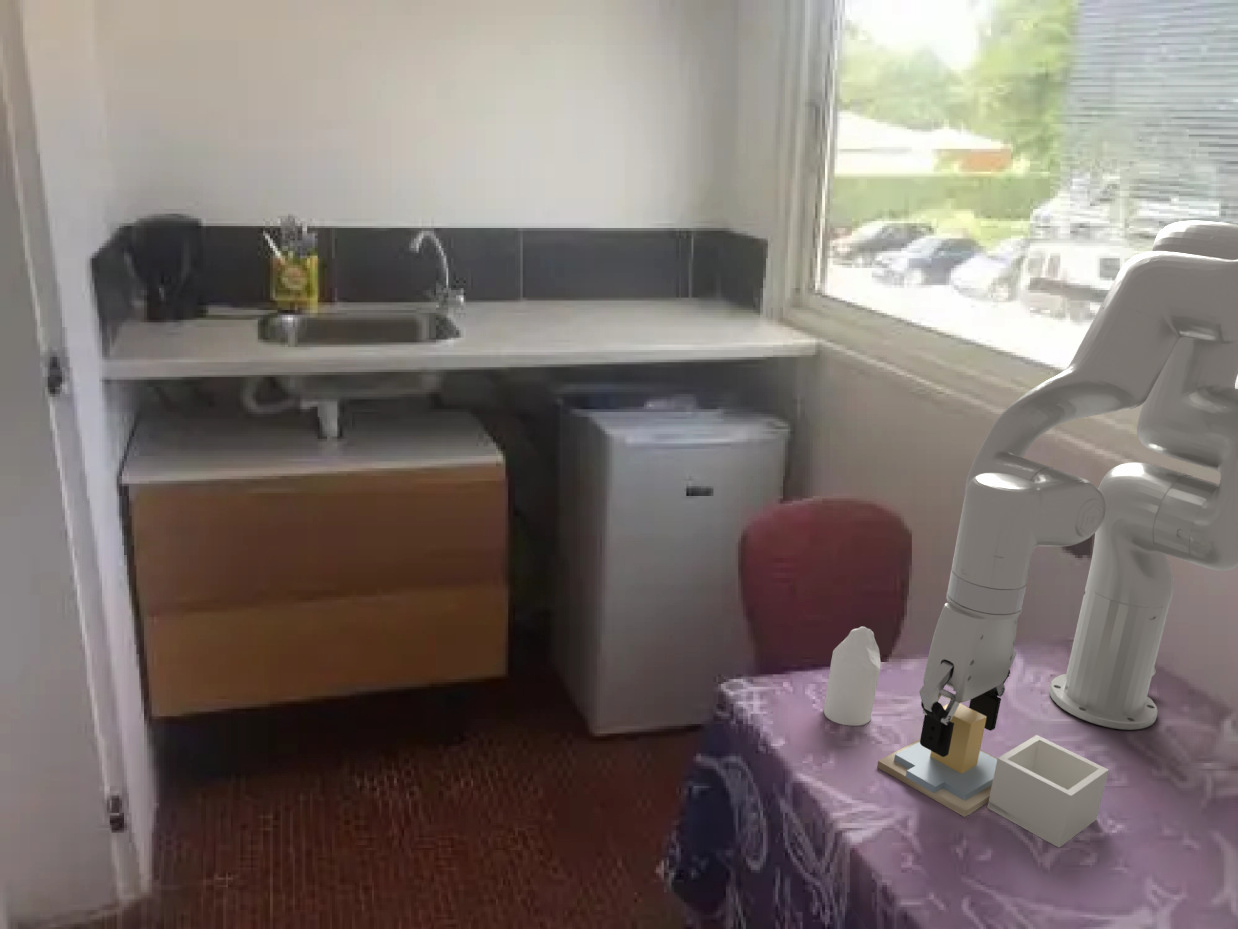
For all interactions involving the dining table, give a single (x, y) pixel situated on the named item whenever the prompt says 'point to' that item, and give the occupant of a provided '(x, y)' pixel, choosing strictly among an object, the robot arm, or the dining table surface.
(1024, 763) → the tub
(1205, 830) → the dining table surface
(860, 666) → the white faceted top cylinder
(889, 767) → the board
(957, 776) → the lid
